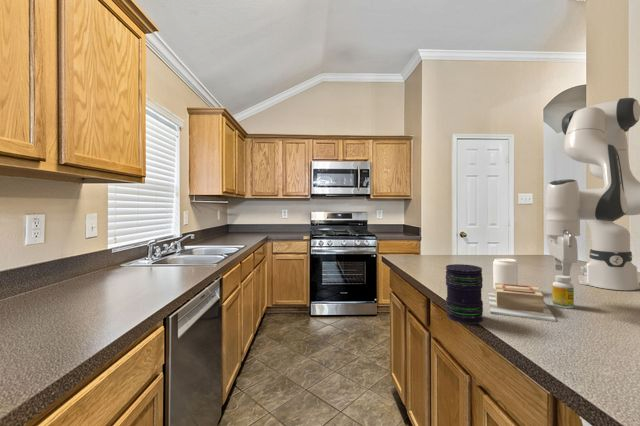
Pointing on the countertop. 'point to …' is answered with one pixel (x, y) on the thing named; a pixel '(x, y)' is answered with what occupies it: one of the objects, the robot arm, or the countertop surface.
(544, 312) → the stand
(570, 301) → the supplement bottle
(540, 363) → the countertop surface
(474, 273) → the storage jar
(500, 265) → the beverage can
